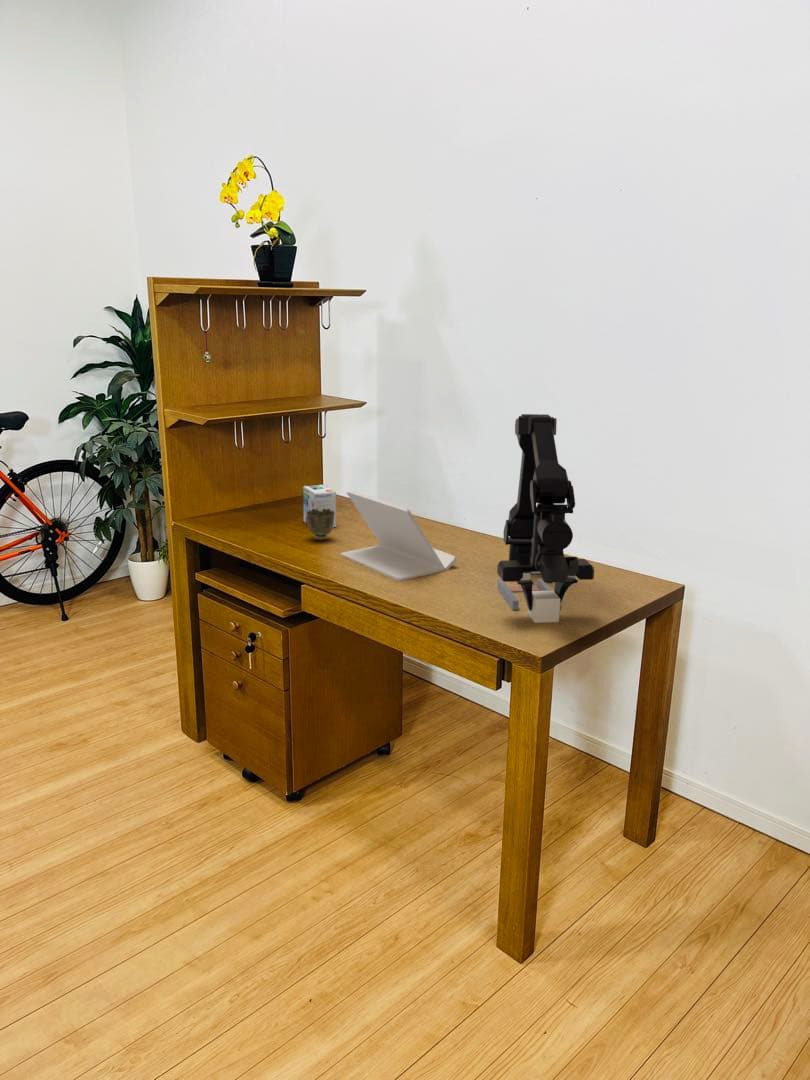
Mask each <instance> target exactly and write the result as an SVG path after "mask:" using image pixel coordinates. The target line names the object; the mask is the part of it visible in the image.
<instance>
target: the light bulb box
mask: <svg viewBox="0 0 810 1080" xmlns="http://www.w3.org/2000/svg"><path fill="white" fill-rule="evenodd" d="M302 489H303V491H302V492H303V493H302V494H303V498H302V499H303V522H304V523H305V524H306V523H307V525H308V519H307V511H308V512H309V510H310V511H311V510H312V509H315V510H316V509H318V511H319V512H320V511H321V512H322V511H323V509H326V510H327V509H330V510H331V511H332V510H333V512H335V513H334V522H333V527H336V528H337V490H336V491H335V490H334V489H332V488H331V487H328V486H327V485H325V484H317V485H304V486H302Z"/></svg>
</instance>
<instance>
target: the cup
mask: <svg viewBox="0 0 810 1080" xmlns="http://www.w3.org/2000/svg"><path fill="white" fill-rule="evenodd" d="M334 513H335V512H333V510H332V511H331V510H330V509H327V510H326V509H323V511H322V512H321V511H320V512H319V511H318V509H316V510H315V509H312V510H311V511H310V510H309V512H308V511H307V519H308V524H307V526H308V528H309V531H310V532H311V533H312V534H313V535H314V536H313V538H314V540H315V541H317V540H319V541H318V542H324V541H323V540H325V541H327V540H328V538H329V536H328V534H330V533H331V532H332V531H333V529H334V528H333V522H334Z"/></svg>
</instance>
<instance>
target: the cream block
mask: <svg viewBox="0 0 810 1080" xmlns="http://www.w3.org/2000/svg"><path fill="white" fill-rule="evenodd" d="M527 609H528V608H527ZM560 609H561V608H560V598H559V597H558V596H557V594H556V593H555V590H553V589H552V590H551V591H532V611H530V610H529V609H528V611H527V614H528V616H529V617H530V619H531V620H532V621H533V623H534V624H539V623H541V624H543V623H559V622H560Z"/></svg>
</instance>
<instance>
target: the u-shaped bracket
mask: <svg viewBox="0 0 810 1080" xmlns="http://www.w3.org/2000/svg"><path fill="white" fill-rule="evenodd" d="M497 590H498V591H499V593H500V594H501V596H502V597H503V599H505V601H506V603H507V604H508V606H509V607H510V608H511V610H512V611H517V610H519V599H518V598H517V596H516V595H515V593H524V592H523V589H522V587H521V585H519V586H516V585H513V586H508V585H507V582H505V581H503V580H502V579H497ZM551 590H553V588H552V587H551V586H550V585H549V583H545V582H544V581H543V579H542V578H537V580H536V585H533V586H532V591H551ZM561 604H562V602H561V603H560V609H561Z"/></svg>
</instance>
